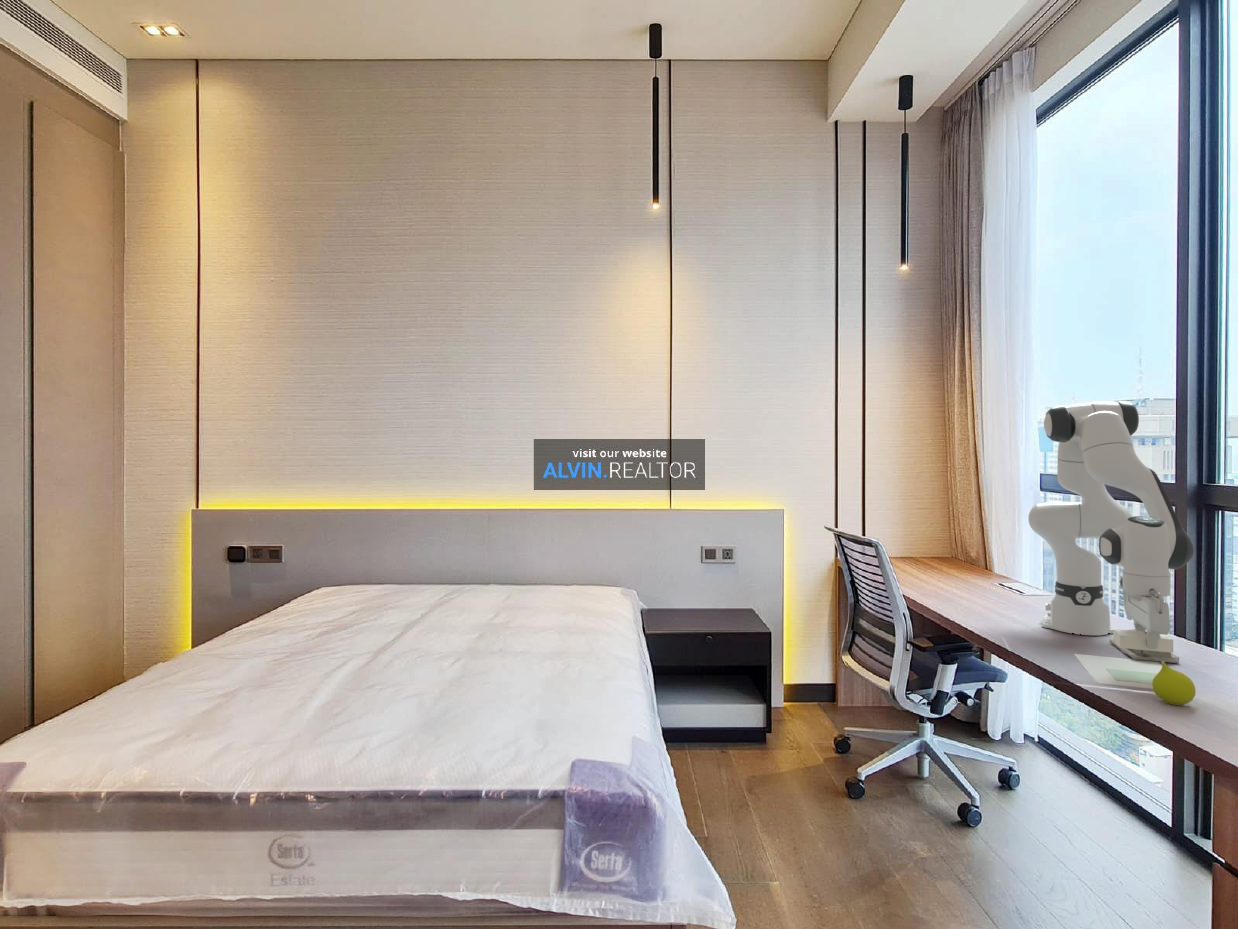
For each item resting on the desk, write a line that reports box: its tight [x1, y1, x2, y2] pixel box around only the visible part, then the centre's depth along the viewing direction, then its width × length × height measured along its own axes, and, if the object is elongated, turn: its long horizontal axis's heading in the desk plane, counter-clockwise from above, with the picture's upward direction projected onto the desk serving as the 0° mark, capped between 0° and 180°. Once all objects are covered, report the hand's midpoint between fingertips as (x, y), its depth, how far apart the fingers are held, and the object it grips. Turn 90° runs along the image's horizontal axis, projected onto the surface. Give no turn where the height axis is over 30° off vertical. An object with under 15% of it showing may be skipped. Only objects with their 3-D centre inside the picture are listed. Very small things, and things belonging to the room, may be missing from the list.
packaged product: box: [1109, 628, 1180, 664], centre depth 176 cm, size 18×5×10 cm
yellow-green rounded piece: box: [1152, 661, 1197, 706], centre depth 142 cm, size 7×7×10 cm
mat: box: [1073, 653, 1162, 690], centre depth 161 cm, size 24×18×1 cm
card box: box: [1112, 628, 1174, 654], centre depth 157 cm, size 6×3×10 cm
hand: (1146, 644), depth 156 cm, fingers closed on card box, 6 cm apart
